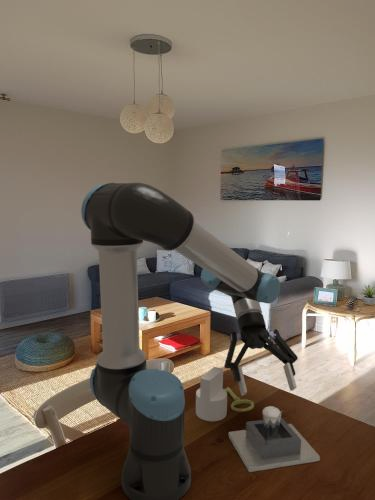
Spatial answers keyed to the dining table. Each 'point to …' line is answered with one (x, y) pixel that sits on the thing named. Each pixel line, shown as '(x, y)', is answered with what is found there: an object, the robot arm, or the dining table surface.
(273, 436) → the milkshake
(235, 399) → the key
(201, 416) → the base with upright slab
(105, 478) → the dining table surface
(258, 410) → the dining table surface
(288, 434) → the holder
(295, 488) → the dining table surface
